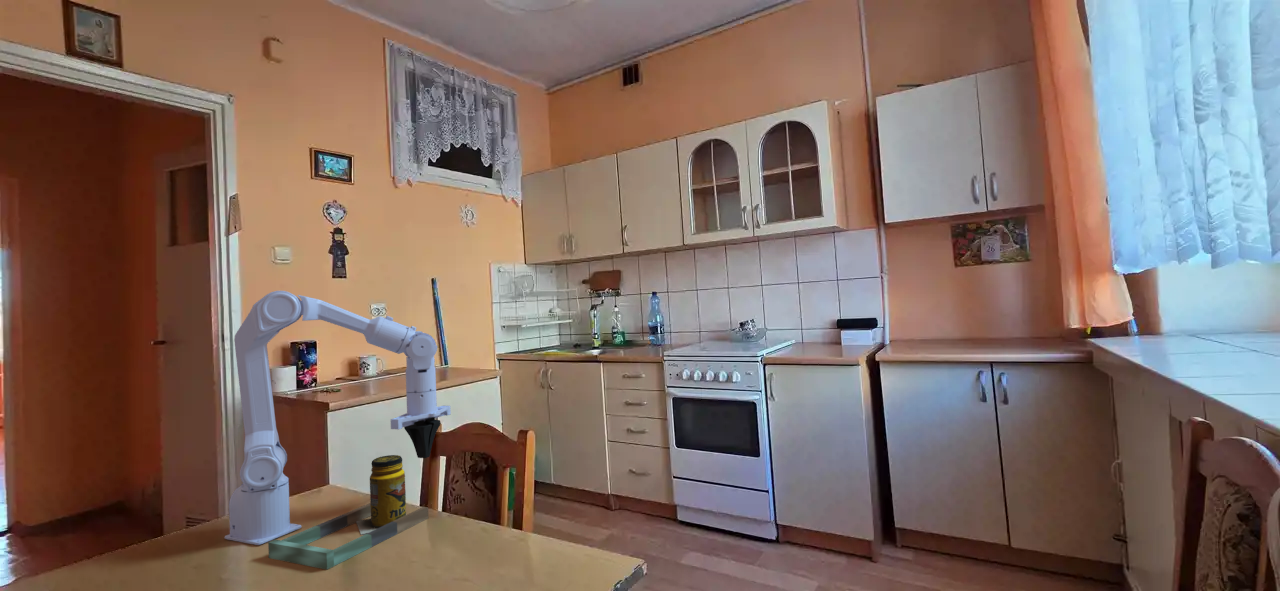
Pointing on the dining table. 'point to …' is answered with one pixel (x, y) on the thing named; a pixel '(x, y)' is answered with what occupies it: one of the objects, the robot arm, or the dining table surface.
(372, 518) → the condiment
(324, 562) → the u-shaped frame
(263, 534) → the robot arm
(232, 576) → the dining table surface
